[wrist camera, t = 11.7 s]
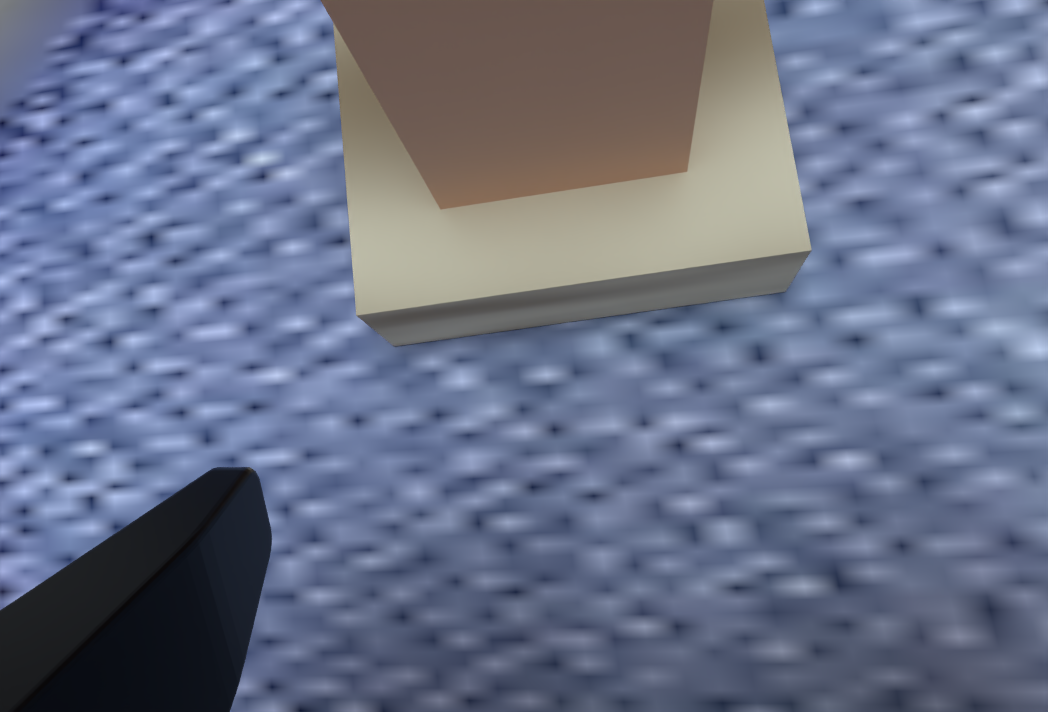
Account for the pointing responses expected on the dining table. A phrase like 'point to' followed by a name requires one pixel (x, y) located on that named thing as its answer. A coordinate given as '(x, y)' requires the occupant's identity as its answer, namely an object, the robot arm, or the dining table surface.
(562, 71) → the brown block
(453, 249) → the plinth
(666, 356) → the dining table surface
